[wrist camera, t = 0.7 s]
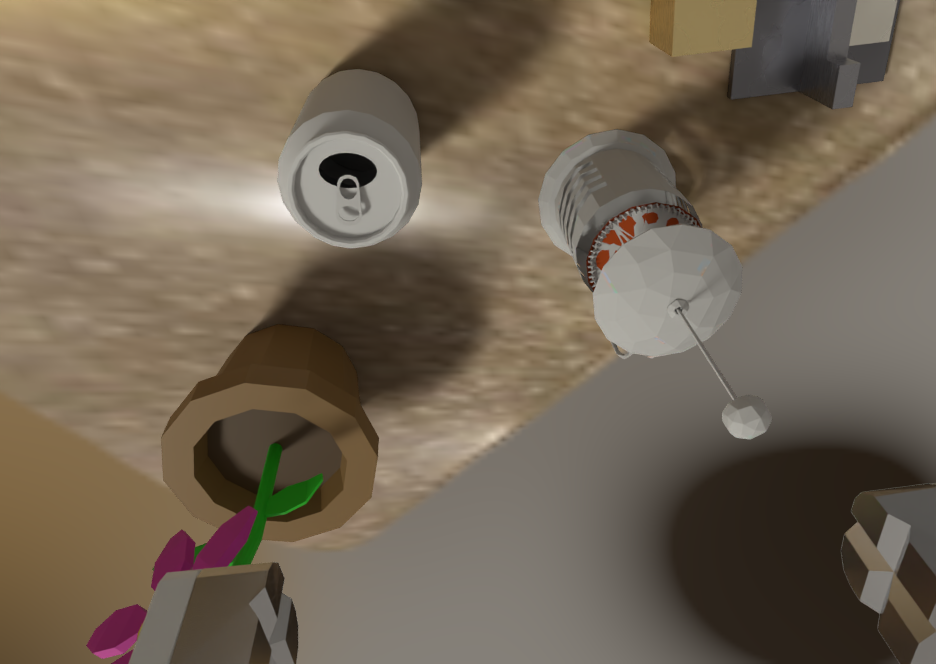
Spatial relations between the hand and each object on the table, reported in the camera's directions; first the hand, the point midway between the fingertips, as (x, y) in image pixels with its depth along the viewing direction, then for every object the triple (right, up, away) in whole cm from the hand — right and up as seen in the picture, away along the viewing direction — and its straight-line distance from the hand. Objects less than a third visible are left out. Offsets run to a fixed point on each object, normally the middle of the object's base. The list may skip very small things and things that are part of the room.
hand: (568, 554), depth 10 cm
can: (-8, +17, +36) cm, 40 cm away
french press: (+8, +12, +40) cm, 43 cm away
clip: (+12, +23, +33) cm, 42 cm away
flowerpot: (-15, 0, +46) cm, 48 cm away
